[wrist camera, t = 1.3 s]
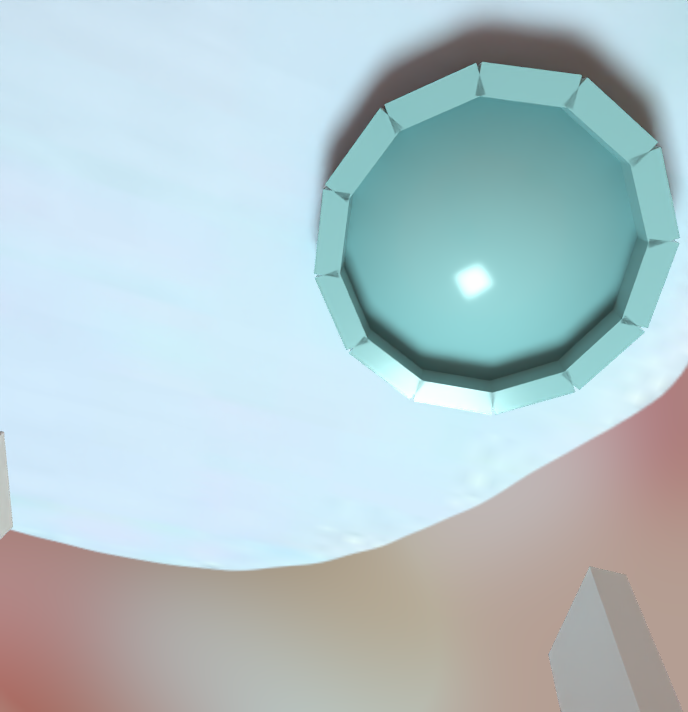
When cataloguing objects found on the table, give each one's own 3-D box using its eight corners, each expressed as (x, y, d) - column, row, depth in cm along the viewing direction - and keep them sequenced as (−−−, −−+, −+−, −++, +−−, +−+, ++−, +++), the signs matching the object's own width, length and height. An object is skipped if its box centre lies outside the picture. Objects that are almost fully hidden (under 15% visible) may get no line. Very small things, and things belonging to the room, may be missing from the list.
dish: (345, 47, 31) (338, 43, 28) (710, 95, 29) (734, 94, 27) (310, 365, 38) (302, 381, 36) (596, 415, 37) (607, 435, 35)
